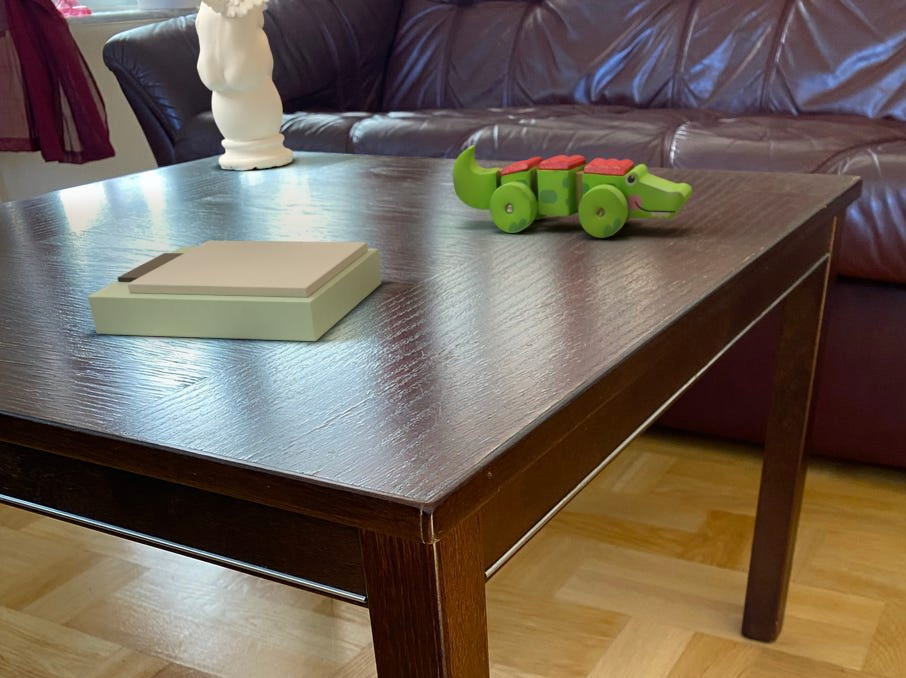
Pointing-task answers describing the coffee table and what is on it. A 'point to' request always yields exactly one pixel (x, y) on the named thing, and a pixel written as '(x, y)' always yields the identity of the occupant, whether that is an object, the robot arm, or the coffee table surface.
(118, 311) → the scale
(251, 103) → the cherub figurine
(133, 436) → the coffee table surface
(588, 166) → the toy crocodile
